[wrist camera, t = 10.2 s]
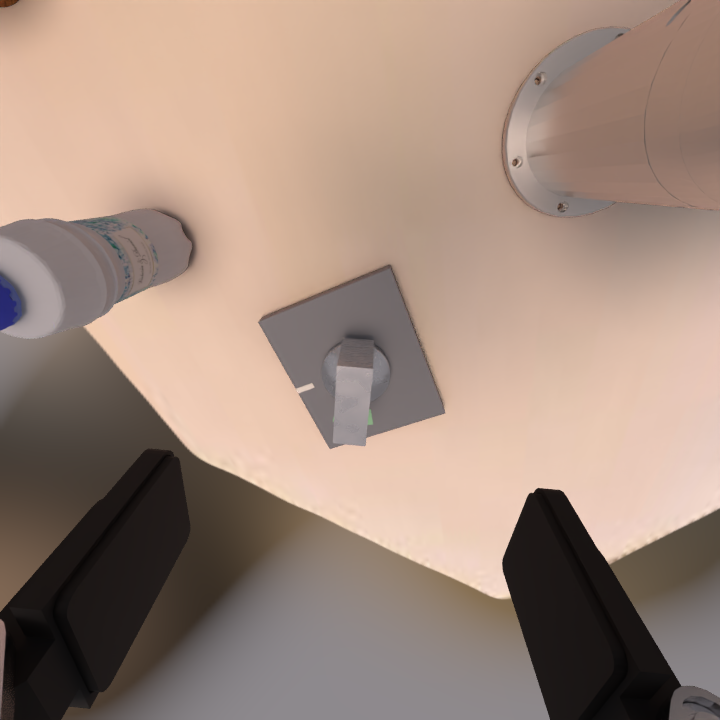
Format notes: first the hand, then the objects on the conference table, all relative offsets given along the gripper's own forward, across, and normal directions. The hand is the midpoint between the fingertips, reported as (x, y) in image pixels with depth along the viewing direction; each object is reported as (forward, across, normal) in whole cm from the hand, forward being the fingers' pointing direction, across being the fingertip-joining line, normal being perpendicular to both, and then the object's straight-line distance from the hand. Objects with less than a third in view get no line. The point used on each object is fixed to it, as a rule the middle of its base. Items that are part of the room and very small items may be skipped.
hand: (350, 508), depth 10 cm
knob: (+27, 0, +11) cm, 29 cm away
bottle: (+28, +20, -1) cm, 35 cm away
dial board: (+28, 0, +10) cm, 30 cm away
